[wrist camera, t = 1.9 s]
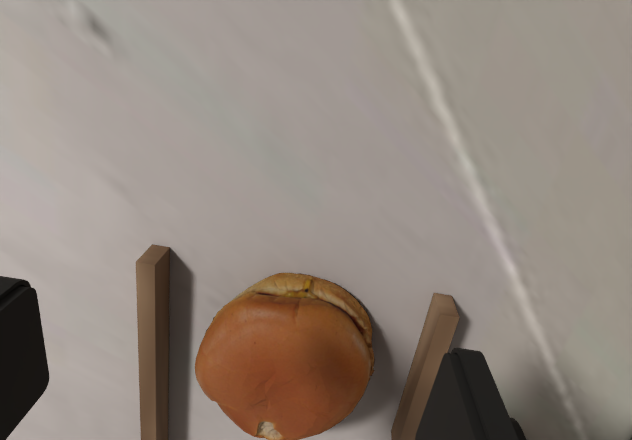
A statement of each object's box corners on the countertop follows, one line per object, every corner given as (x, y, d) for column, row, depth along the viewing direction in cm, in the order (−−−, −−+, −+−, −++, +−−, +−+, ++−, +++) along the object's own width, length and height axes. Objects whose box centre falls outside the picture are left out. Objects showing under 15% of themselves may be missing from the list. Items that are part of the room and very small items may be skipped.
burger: (365, 262, 24) (367, 313, 20) (376, 390, 28) (380, 456, 23) (195, 272, 25) (161, 322, 21) (227, 393, 29) (204, 456, 25)
